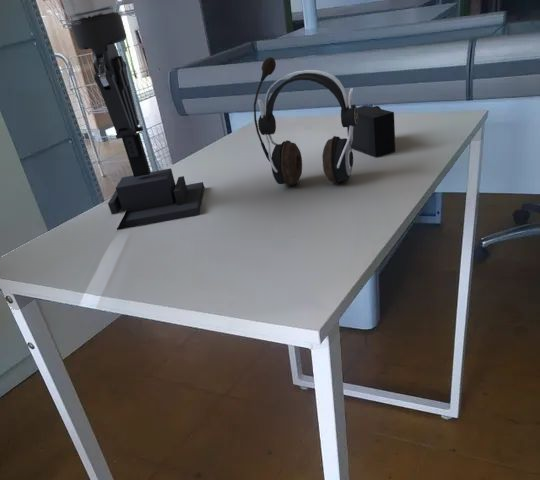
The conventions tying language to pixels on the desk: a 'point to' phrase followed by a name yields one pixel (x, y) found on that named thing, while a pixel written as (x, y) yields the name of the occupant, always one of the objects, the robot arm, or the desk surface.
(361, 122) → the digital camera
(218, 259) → the desk surface
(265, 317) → the desk surface
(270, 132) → the headset
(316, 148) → the desk surface
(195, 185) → the base pad
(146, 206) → the foam pad
